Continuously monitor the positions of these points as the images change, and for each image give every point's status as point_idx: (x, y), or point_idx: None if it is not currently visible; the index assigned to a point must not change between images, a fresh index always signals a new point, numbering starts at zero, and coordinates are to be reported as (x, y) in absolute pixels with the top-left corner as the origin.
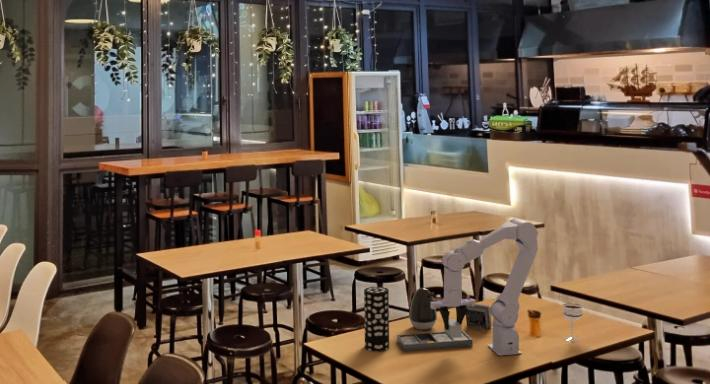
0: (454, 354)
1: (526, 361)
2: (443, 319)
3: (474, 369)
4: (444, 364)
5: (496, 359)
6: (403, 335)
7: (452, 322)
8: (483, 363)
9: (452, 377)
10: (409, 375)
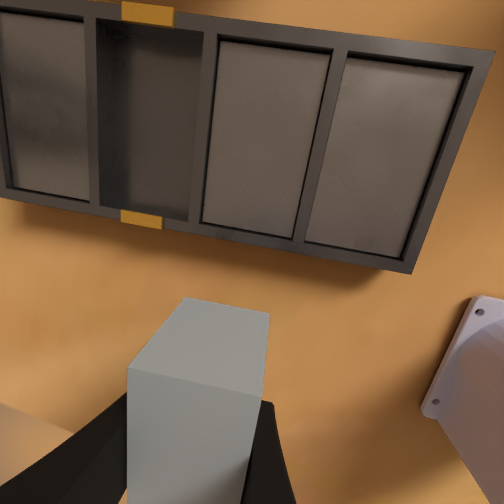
0: None
1: None
2: (72, 451)
3: None
4: None
5: (381, 426)
6: (15, 8)
7: (177, 481)
8: (305, 431)
9: None
10: (22, 400)
